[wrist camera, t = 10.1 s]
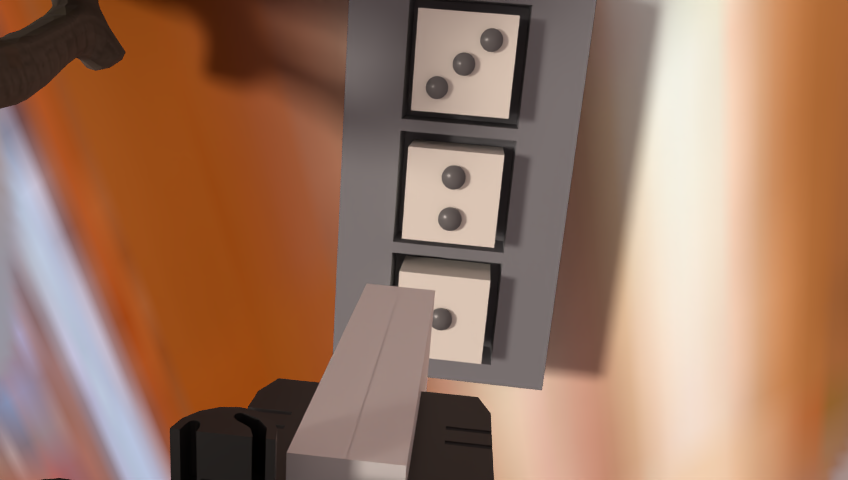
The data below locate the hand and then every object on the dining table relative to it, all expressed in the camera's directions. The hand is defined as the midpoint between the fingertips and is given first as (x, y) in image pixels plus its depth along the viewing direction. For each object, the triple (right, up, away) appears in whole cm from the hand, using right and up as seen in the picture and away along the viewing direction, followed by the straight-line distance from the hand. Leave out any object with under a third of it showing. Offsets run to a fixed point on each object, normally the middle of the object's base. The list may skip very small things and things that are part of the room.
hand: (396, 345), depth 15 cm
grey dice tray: (+2, +5, +18) cm, 19 cm away
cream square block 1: (+2, -1, +18) cm, 18 cm away
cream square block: (+2, +5, +16) cm, 17 cm away
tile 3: (+2, +10, +15) cm, 18 cm away
